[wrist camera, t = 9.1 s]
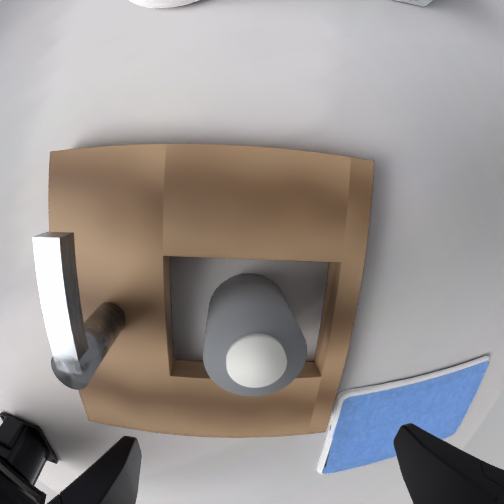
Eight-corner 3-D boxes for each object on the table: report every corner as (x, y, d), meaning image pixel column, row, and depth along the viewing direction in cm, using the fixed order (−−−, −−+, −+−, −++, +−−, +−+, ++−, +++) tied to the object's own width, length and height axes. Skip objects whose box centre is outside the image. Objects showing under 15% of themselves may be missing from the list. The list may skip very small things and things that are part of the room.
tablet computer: (314, 469, 24) (316, 478, 23) (335, 386, 22) (340, 396, 20) (450, 429, 26) (455, 435, 25) (486, 350, 23) (493, 355, 22)
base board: (319, 416, 22) (325, 431, 20) (96, 405, 20) (89, 420, 18) (359, 162, 17) (374, 160, 15) (65, 153, 16) (50, 151, 14)
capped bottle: (282, 343, 20) (302, 401, 14) (208, 342, 19) (203, 403, 13) (289, 274, 19) (317, 316, 13) (209, 272, 18) (201, 314, 12)
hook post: (127, 333, 16) (92, 393, 11) (99, 329, 16) (57, 384, 10) (119, 218, 15) (65, 238, 9) (88, 217, 15) (27, 237, 9)
